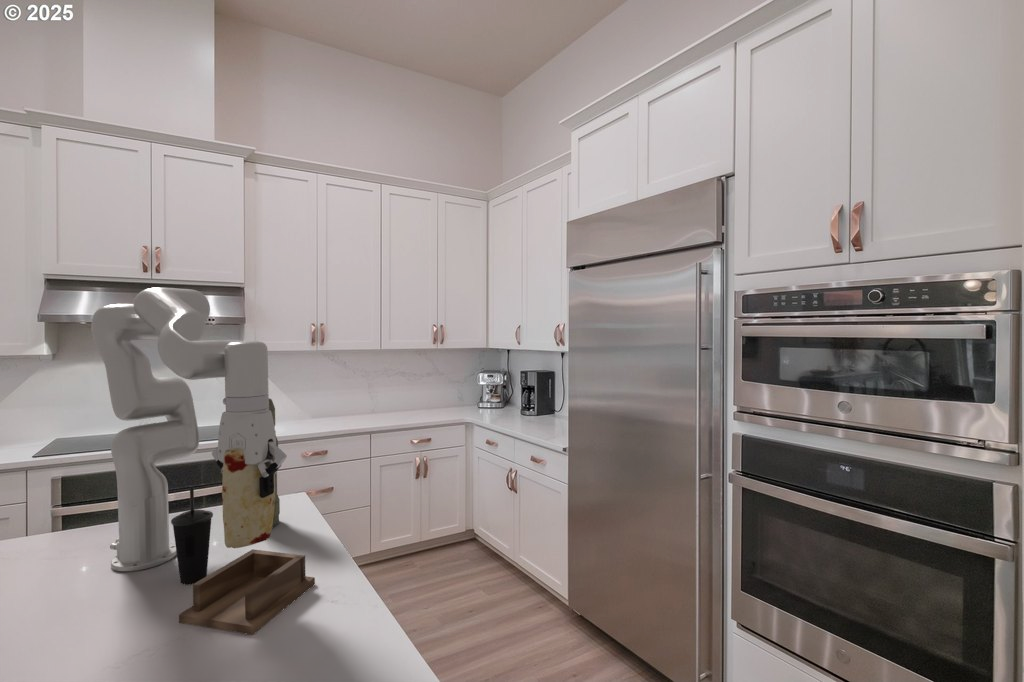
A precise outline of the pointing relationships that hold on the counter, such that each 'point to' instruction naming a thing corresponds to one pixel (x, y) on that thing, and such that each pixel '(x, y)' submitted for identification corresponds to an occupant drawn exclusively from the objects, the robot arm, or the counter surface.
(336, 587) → the counter surface
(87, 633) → the counter surface
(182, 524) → the drinking cup
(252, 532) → the food model
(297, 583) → the dock
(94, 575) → the counter surface
